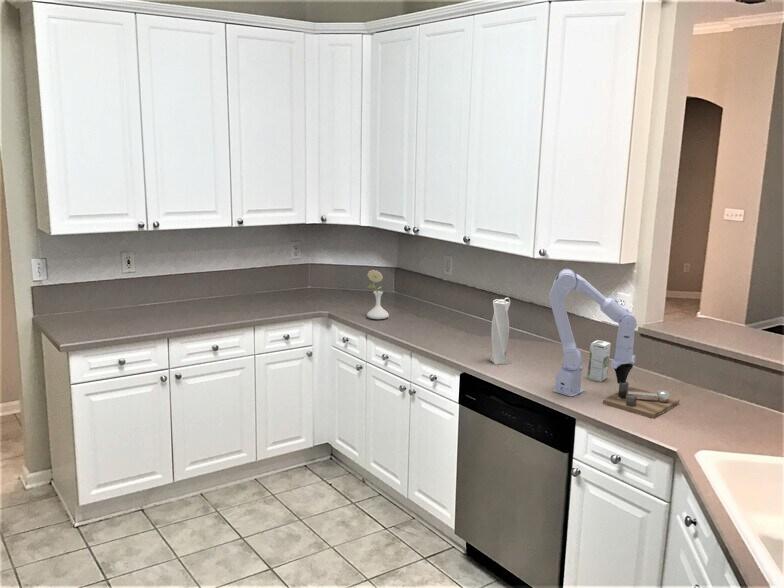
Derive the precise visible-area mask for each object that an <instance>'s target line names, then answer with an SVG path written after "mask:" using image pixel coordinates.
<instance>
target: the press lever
mask: <svg viewBox="0 0 784 588" xmlns="http://www.w3.org/2000/svg"><path fill="white" fill-rule="evenodd" d="M629 385H630V383H629V382H627V381H626V382H624V381H621V382H619V383H618V392H619V393H618V392H617V393H618V397H621V398H627V396H629V395H632V396H636V397H637V399H645V400H657V401H659V402H668V401H669V397H670V392H669V390H663V389H658V390H656V393H657V394H655V392H653V393H642V392H629V391H628V387H629Z"/></svg>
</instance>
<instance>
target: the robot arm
mask: <svg viewBox="0 0 784 588" xmlns="http://www.w3.org/2000/svg"><path fill="white" fill-rule="evenodd" d="M573 290H574V292H582V293H584V294H585V295H587V296H588V297H589V298H591V299H592V300H593V301H595V303H597V304H599V306H600V307H599V308H600V311H601V312H602V313H603V314H605V316H607V317H608V318H609V319H611V320H612V321H613V322H614V323H617V324H618V328H617V334H616V342H615V343H616V344H615V352H614V353H615V354H614V357H613V360H612V361H611V362H610V368H612V369H614V372H615V375H616V381H617V384H619V382H621V381H624V382H627V378H628V375H629V374H630V372H631V370H632V369H633V367H634V364H636V354H633V353H634V342H635V332H636V331H635V329H636V328H637V326H638V324H637V319H636V317H635V315H634V314H633V312H632V311H630V310H629V309H628V308H625V307H623V306H622V305H621V304H620V303H619V300H618V299H617V298H615V299H614V298H613V297H608V298H607V297H605V296H604V295H603V294H602V293H601V292H600V291H599V290H598V289H596V288H595V287H594V286H593V285H592V284H591V283H590V282H589V281H588V280H586V279H585V278H584V277H583V276H581V275H579V274H578V273H575V272H574V270H572V269H570V268H563V269H562V270H560V271H559V273H558V274H557V275H556V276H555V277H554V281H553V284H552V286H551V289H550V291H549V296H548V299H549V303H550V305H551V310H552V313H553V317H554V321H555V325H556V328H557V331H558V335H559V338H560V341H561V346H562V351H563V353H562V355H563V362H562V363H561V368H560V370H559V371H557V373H556V375H555V385H554V389H552V392H553V393H554V392H555V393H558V394H561V395H563V396H567V397H575V396H577V395H579V394H581V393H584V392H586V389H584V388H582V386H581V385H582V374H583V366H582V363H583V359H582V352H581V350H580V349H579V347H578V346H577V344H576V341H575V337H574V333H573V331H572V326H571V323H570V319H569V316H568V312H567V308H566V304H565V301H564V300H565V297H566V296H567V294H568V293H570V292H571V291H573Z"/></svg>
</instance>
